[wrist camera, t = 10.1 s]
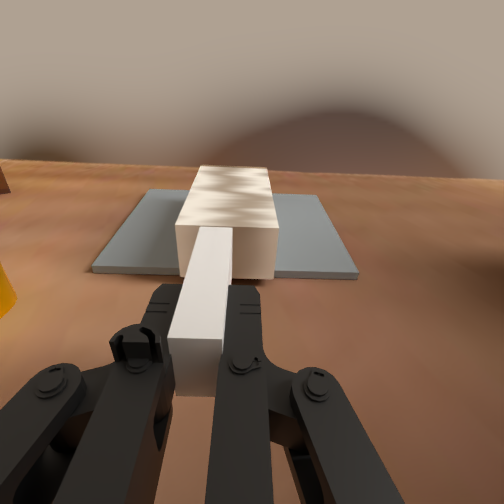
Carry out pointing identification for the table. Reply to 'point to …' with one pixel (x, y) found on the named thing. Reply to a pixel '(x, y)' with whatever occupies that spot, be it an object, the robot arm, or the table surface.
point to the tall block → (232, 218)
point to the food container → (3, 184)
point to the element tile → (6, 293)
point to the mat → (288, 247)
